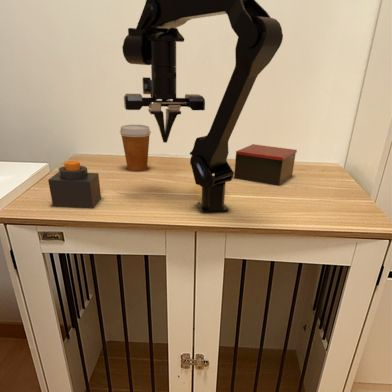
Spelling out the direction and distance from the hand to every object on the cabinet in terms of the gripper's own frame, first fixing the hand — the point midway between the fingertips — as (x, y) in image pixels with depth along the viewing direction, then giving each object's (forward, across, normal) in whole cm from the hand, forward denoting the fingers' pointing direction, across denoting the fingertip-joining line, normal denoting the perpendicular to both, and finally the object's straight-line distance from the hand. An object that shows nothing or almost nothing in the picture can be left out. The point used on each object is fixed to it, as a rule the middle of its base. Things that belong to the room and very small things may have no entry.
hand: (165, 142), depth 102 cm
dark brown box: (+13, -33, -16) cm, 39 cm away
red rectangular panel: (+6, -33, -16) cm, 37 cm away
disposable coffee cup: (+13, +5, -30) cm, 33 cm away
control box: (+13, +23, +3) cm, 27 cm away
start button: (+5, +23, +3) cm, 24 cm away
